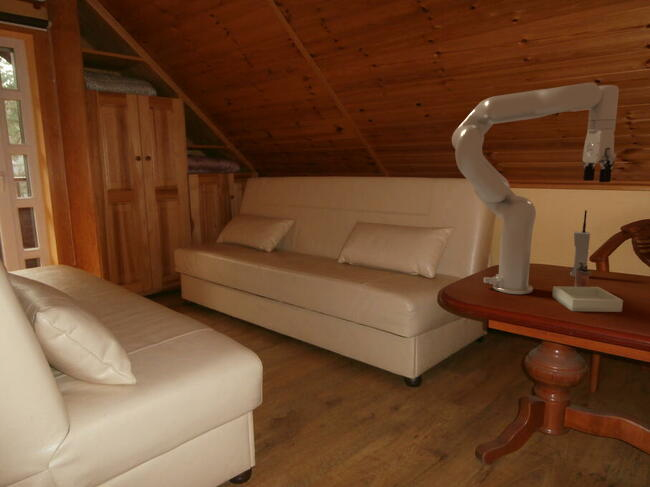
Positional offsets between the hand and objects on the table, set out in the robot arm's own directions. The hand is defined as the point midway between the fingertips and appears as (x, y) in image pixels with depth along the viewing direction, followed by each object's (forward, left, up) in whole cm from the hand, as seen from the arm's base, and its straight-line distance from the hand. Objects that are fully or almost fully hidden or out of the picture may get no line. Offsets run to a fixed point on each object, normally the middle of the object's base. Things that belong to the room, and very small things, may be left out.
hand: (596, 181), depth 149 cm
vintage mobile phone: (+6, +19, -37) cm, 42 cm away
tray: (-7, -15, -37) cm, 40 cm away
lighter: (-2, -1, -37) cm, 37 cm away
